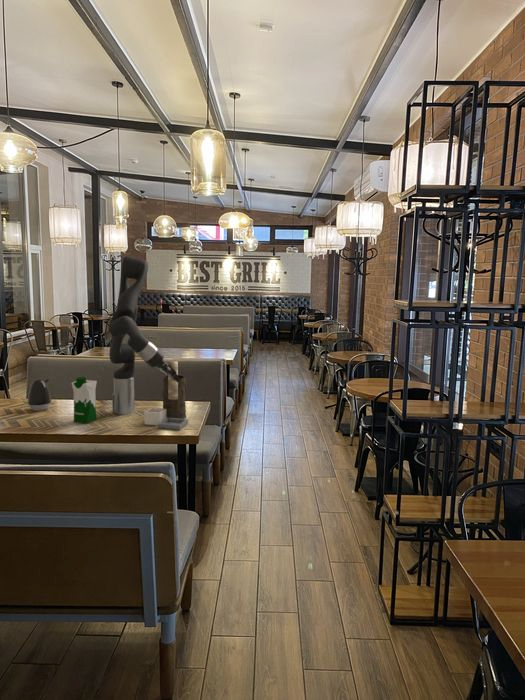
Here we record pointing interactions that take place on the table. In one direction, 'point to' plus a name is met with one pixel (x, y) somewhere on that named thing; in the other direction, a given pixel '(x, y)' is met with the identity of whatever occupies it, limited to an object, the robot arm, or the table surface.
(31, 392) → the dark grey rounded piece
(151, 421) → the light grey square box
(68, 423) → the table surface
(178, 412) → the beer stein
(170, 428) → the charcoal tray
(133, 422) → the table surface
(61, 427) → the table surface
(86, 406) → the milk carton
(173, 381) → the birch pin
